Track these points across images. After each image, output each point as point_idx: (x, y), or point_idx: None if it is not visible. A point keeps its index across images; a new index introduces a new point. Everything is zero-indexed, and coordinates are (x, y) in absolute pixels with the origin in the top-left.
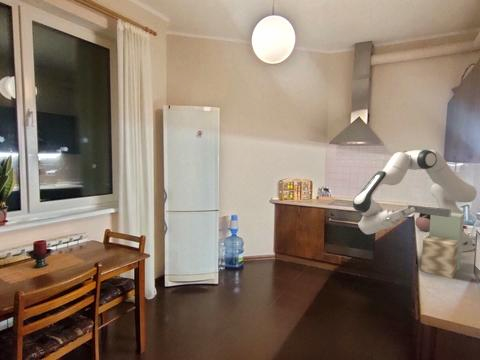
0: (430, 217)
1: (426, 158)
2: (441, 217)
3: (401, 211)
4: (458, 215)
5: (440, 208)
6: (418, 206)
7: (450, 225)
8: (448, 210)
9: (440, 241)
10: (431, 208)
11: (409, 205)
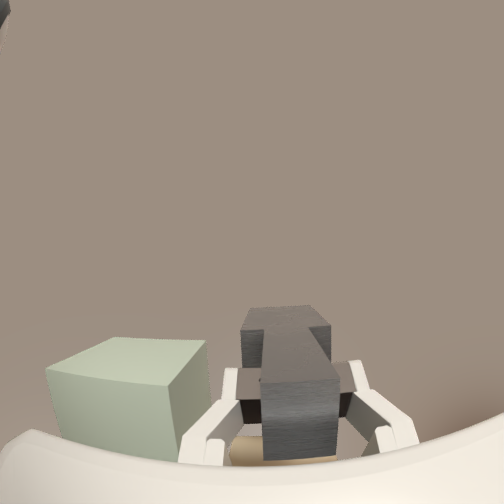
0: (171, 417)
1: (4, 24)
2: (188, 382)
3: (492, 421)
4: (174, 342)
5: (262, 315)
6: (305, 344)
7: (202, 399)
8: (309, 305)
9: (314, 462)
10: (321, 319)
11: (322, 374)
